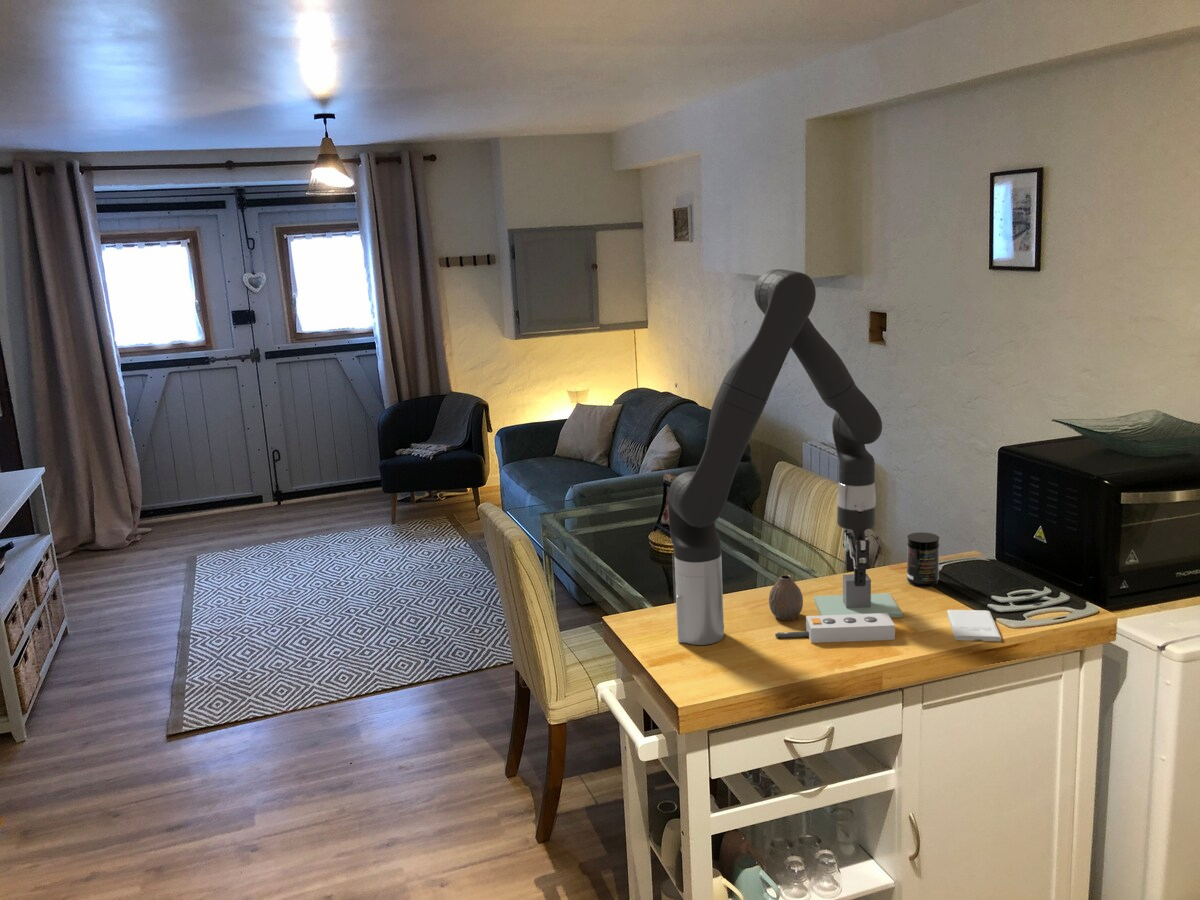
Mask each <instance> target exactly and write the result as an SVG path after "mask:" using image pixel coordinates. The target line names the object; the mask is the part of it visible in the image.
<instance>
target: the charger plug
mask: <svg viewBox="0 0 1200 900" xmlns="http://www.w3.org/2000/svg"><path fill="white" fill-rule="evenodd" d="M871 594H872V581H871V578H870V576H869V575H868V573H866V585H865V586H855V584H854V573H851V574H842V595H843V603H844V605H845V607H846V608H866V607H871Z"/></svg>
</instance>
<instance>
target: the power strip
mask: <svg viewBox="0 0 1200 900" xmlns="http://www.w3.org/2000/svg"><path fill="white" fill-rule="evenodd" d="M774 636H775V637H776V638H777V639H781V638H782V639H783V638H802V637H803V638H806V637H808V638H809V641H810V643H811V644H813V643H817V644H818V643H843V642H846V643H847V642H868V641H869V642H870V641H875V642H876V641H894V640H896V625H895V623H894V621H893V620H892V618H890V616H889V614H888V613H873V614H847V615H820V614H819V615H806V616H805V631H786V632H785V631H783V632H775V635H774Z"/></svg>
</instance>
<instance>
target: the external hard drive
mask: <svg viewBox="0 0 1200 900" xmlns="http://www.w3.org/2000/svg"><path fill="white" fill-rule="evenodd" d="M946 615H947V618H948V621H949V625H950V628H951V630H952V633H953V636H954V640H955V641H982V642H1002V636H1001V634H1000V631H999V629H998V627H997V624H996V623H995V620H994V617H993V616H992V613H991V611H989V610H985V609H984V610H982V609H981V610H977V609H973V610H972V609H970V610H969V609H947V610H946Z"/></svg>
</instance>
